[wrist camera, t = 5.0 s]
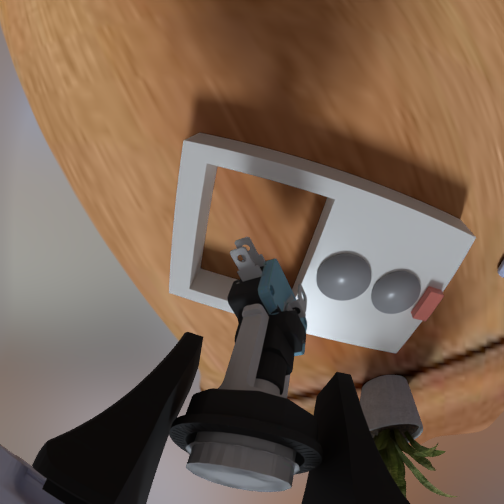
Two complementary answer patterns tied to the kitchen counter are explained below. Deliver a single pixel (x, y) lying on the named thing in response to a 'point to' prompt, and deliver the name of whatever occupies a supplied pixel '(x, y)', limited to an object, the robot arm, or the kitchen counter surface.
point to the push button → (254, 390)
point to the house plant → (396, 428)
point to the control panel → (328, 245)
